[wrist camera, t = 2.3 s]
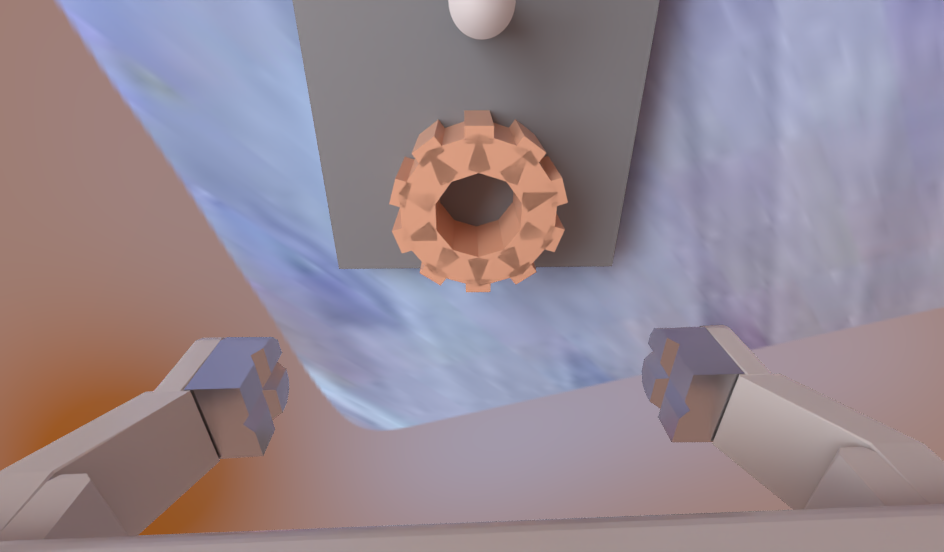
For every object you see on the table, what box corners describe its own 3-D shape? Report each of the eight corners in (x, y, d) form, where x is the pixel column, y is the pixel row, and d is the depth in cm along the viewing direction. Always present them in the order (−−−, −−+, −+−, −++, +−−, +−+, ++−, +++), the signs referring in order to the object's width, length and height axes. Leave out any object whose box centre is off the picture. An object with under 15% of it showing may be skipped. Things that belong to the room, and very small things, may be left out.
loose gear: (559, 110, 17) (576, 125, 15) (545, 257, 21) (557, 291, 18) (393, 110, 17) (381, 126, 15) (405, 258, 21) (397, 292, 18)
